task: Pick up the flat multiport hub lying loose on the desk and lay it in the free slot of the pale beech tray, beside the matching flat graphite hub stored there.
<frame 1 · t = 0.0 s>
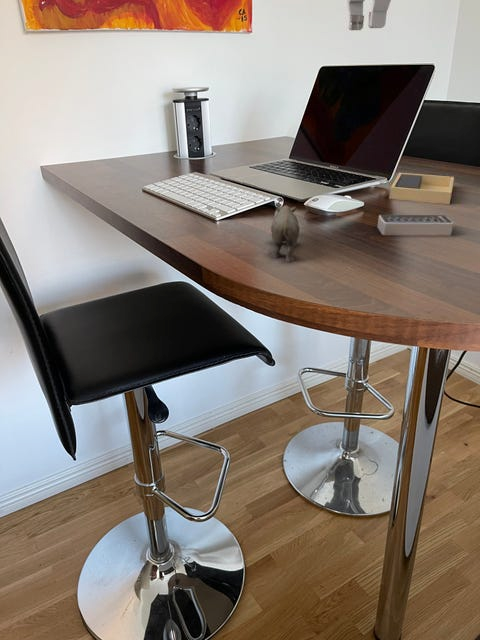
hand: (365, 29, 67), 29 cm above the table, tool pointing down, fingers open, 8 cm apart
tray: (421, 194, 102), on the table
multiport hub: (413, 233, 82), on the table
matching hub: (409, 185, 103), in the tray, point 1 cm above the table
rhino figurine: (284, 247, 76), on the table
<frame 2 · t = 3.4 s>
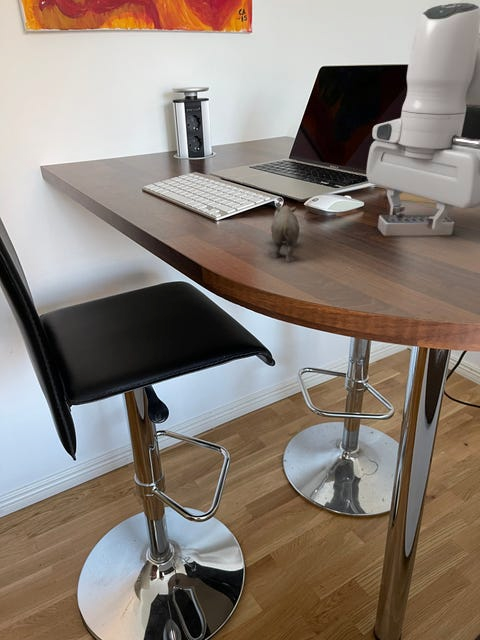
hand: (414, 222, 81), 2 cm above the table, tool pointing down, fingers closed on multiport hub, 6 cm apart
multiport hub: (413, 233, 82), on the table, touching gripper
everything else where it was.
when the fingers open (4 cm above the table, at t = 10.3 s): multiport hub stays where it is, resting on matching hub, tray.
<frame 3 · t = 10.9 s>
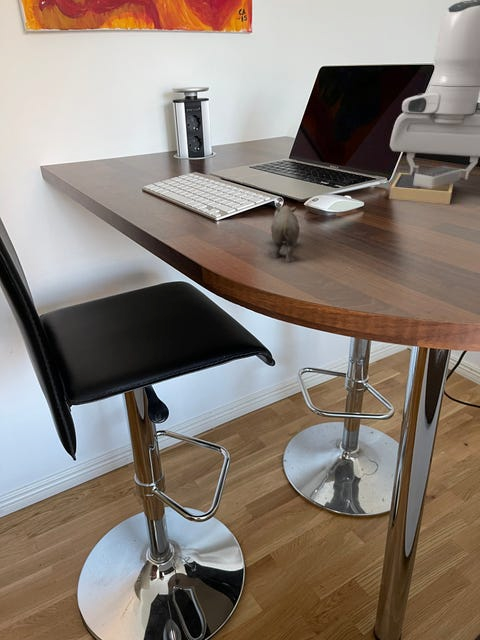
hand: (438, 177, 100), 4 cm above the table, tool pointing down, fingers open, 8 cm apart
multiport hub: (436, 183, 101), point 2 cm above the table, touching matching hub, tray
everything else where it was.
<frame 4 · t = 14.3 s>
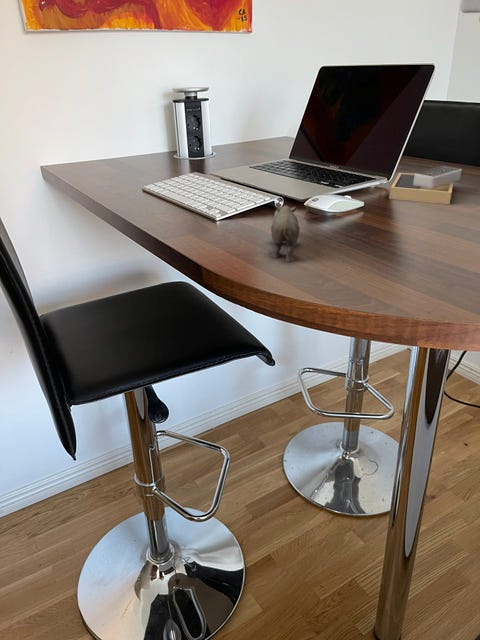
nothing on the table moved.
at the end: multiport hub 0.3 cm from the target spot in the tray, point 2.3 cm above the tray's base; the gripper is holding nothing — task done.
